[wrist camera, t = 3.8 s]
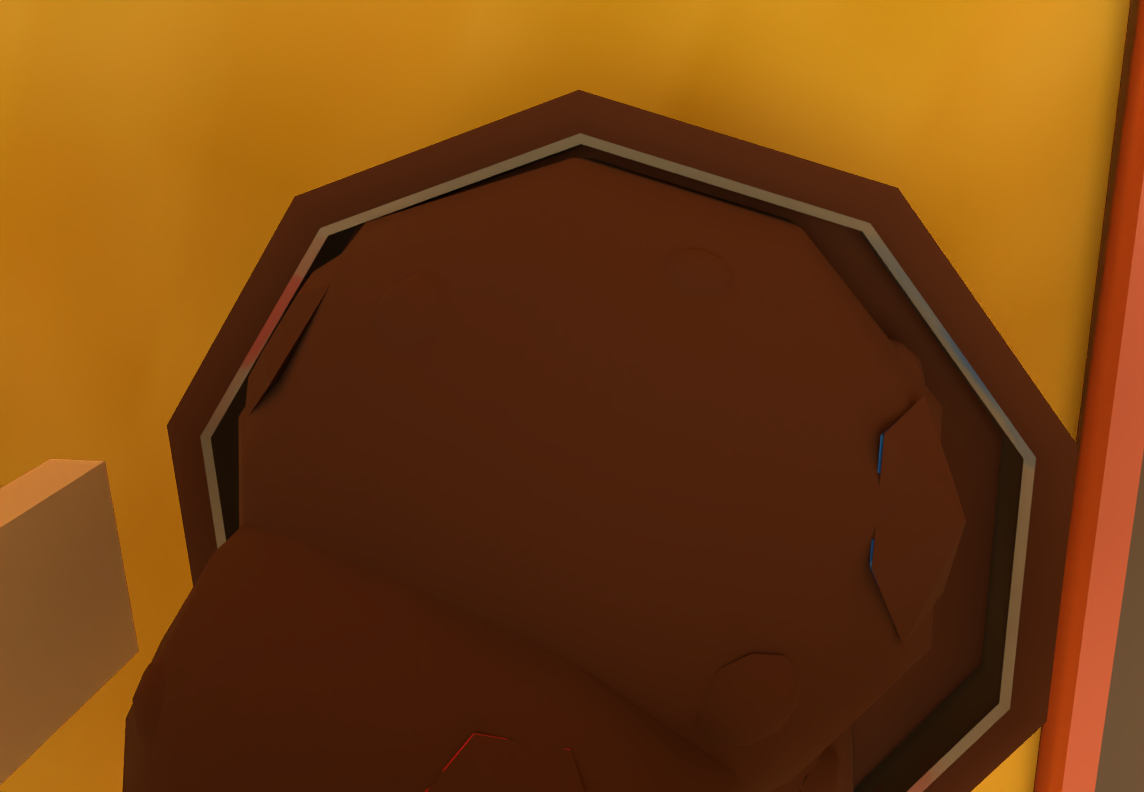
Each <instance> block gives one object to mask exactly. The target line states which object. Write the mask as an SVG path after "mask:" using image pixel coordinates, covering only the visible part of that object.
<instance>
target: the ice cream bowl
mask: <svg viewBox="0 0 1144 792" xmlns="http://www.w3.org/2000/svg"><path fill="white" fill-rule="evenodd" d="M167 429H168V435H169V441H170V447H171V453H172V459H173V465H174V471H175V477H176V483H177V489H178V496H179V502H180V508H181V514H182V520H183V526H184V532H185V538H186V544H187V550H188V556H189V563H190V569H191V575H192V581H193V589H192V590H191V592H190V594H189V595H188V597H187V599H186V600H185V602H184V604H183V606H182V607H181V609H180V611H179V612H178V614H177V616H176V617H175V619H174V621H173V622H172V624H171V626H170V627H169V629H168V631H167V632H166V634H165V636H164V638H163V639H162V641H161V643H160V645H159V647H158V649H157V652H156V654H155V656H154V658H153V660H152V662H151V663H150V664H149V665H148V667H147V668H146V670H145V672H144V673H143V676H142V678H141V680H140V683H139V685H138V687H137V690H136V692H135V695H134V697H133V704H132V706H131V709H130V711H129V713H128V715H127V717H126V728H125V750H124V772H123V792H971V791H972V790H973V789H974V788H975V787H976V786H977V785H978V784H980V783H981V782H982V781H983V780H984V779H985V778H986V777H987V776H988V775H989V774H990V773H991V772H992V771H994V770H995V769H996V768H997V767H998V766H999V765H1000V764H1001V763H1002V762H1003V761H1004V760H1005V759H1006V758H1008V757H1009V756H1010V755H1011V754H1012V753H1013V752H1014V751H1015V750H1016V749H1017V748H1018V747H1019V746H1021V745H1022V744H1023V743H1024V742H1025V741H1026V740H1027V739H1028V738H1029V737H1030V736H1031V735H1032V734H1033V733H1035V732H1036V731H1037V730H1038V729H1039V728H1040V727H1041V726H1042V725H1043V724H1044V723H1045V722H1046V721H1047V714H1048V705H1049V697H1050V688H1051V680H1052V671H1053V662H1054V654H1055V645H1056V637H1057V628H1058V620H1059V611H1060V602H1061V594H1062V585H1063V577H1064V568H1065V560H1066V551H1067V542H1068V534H1069V525H1070V517H1071V508H1072V500H1073V491H1074V482H1075V474H1076V465H1077V457H1078V448H1079V447H1078V446H1077V444H1076V443H1075V441H1074V440H1073V438H1072V437H1071V435H1070V434H1069V433H1068V431H1067V430H1066V428H1065V427H1064V425H1063V424H1062V423H1061V421H1060V420H1059V418H1058V417H1057V415H1056V414H1055V413H1054V411H1053V410H1052V408H1051V407H1050V405H1049V404H1048V403H1047V401H1046V400H1045V398H1044V397H1043V395H1042V394H1041V392H1040V391H1039V390H1038V388H1037V387H1036V385H1035V384H1034V382H1033V381H1032V380H1031V378H1030V377H1029V375H1028V374H1027V372H1026V371H1025V370H1024V368H1023V367H1022V365H1021V364H1020V362H1019V361H1018V360H1017V358H1016V357H1015V355H1014V354H1013V352H1012V351H1011V349H1010V348H1009V347H1008V345H1007V344H1006V342H1005V341H1004V339H1003V338H1002V337H1001V335H1000V334H999V332H998V331H997V329H996V328H995V327H994V325H993V324H992V322H991V321H990V319H989V318H988V317H987V315H986V314H985V312H984V311H983V309H982V308H981V306H980V305H979V304H978V302H977V301H976V299H975V298H974V296H973V295H972V294H971V292H970V291H969V289H968V288H967V286H966V285H965V284H964V282H963V281H962V279H961V278H960V276H959V275H958V273H957V272H956V271H955V269H954V268H953V266H952V265H951V263H950V262H949V261H948V259H947V258H946V256H945V255H944V253H943V252H942V251H941V249H940V248H939V246H938V245H937V243H936V242H935V241H934V239H933V238H932V236H931V235H930V233H929V232H928V230H927V229H926V228H925V226H924V225H923V223H922V222H921V220H920V219H919V218H918V216H917V215H916V213H915V212H914V210H913V209H912V208H911V206H910V205H909V203H908V202H907V200H906V199H905V198H904V196H903V195H902V193H901V192H900V190H899V189H898V188H896V187H893V186H889V185H886V184H883V183H880V182H876V181H873V180H870V179H867V178H863V177H860V176H857V175H854V174H850V173H847V172H844V171H841V170H837V169H834V168H831V167H828V166H824V165H821V164H818V163H815V162H811V161H808V160H805V159H802V158H798V157H795V156H792V155H789V154H785V153H782V152H779V151H776V150H772V149H769V148H766V147H763V146H759V145H756V144H753V143H750V142H746V141H743V140H740V139H737V138H733V137H730V136H727V135H724V134H720V133H717V132H714V131H711V130H707V129H704V128H701V127H698V126H694V125H691V124H688V123H684V122H681V121H678V120H675V119H671V118H668V117H665V116H662V115H658V114H655V113H652V112H649V111H645V110H642V109H639V108H636V107H632V106H629V105H626V104H623V103H619V102H616V101H613V100H610V99H606V98H603V97H600V96H597V95H593V94H590V93H587V92H584V91H580V90H577V91H575V92H572V93H569V94H567V95H564V96H561V97H559V98H556V99H553V100H551V101H548V102H545V103H543V104H540V105H537V106H535V107H532V108H529V109H527V110H524V111H521V112H519V113H516V114H513V115H511V116H508V117H505V118H503V119H500V120H497V121H495V122H492V123H489V124H487V125H484V126H482V127H479V128H476V129H474V130H471V131H468V132H466V133H463V134H460V135H458V136H455V137H452V138H450V139H447V140H444V141H442V142H439V143H436V144H434V145H431V146H428V147H426V148H423V149H420V150H418V151H415V152H412V153H410V154H407V155H404V156H402V157H399V158H396V159H394V160H391V161H388V162H386V163H383V164H380V165H378V166H375V167H373V168H370V169H367V170H365V171H362V172H359V173H357V174H354V175H351V176H349V177H346V178H343V179H341V180H338V181H335V182H333V183H330V184H327V185H325V186H322V187H319V188H317V189H314V190H311V191H309V192H306V193H303V194H301V195H298V196H295V197H294V199H293V201H292V203H291V204H290V206H289V208H288V210H287V212H286V213H285V215H284V217H283V219H282V221H281V222H280V224H279V226H278V228H277V230H276V231H275V233H274V235H273V237H272V238H271V240H270V242H269V244H268V246H267V247H266V249H265V251H264V253H263V255H262V256H261V258H260V260H259V262H258V264H257V265H256V267H255V269H254V271H253V272H252V274H251V276H250V278H249V280H248V281H247V283H246V285H245V287H244V289H243V290H242V292H241V294H240V296H239V298H238V299H237V301H236V303H235V305H234V306H233V308H232V310H231V312H230V314H229V315H228V317H227V319H226V321H225V323H224V324H223V326H222V328H221V330H220V332H219V333H218V335H217V337H216V339H215V340H214V342H213V344H212V346H211V348H210V349H209V351H208V353H207V355H206V357H205V358H204V360H203V362H202V364H201V366H200V367H199V369H198V371H197V373H196V374H195V376H194V378H193V380H192V382H191V383H190V385H189V387H188V389H187V391H186V392H185V394H184V396H183V398H182V400H181V401H180V403H179V405H178V407H177V408H176V410H175V412H174V414H173V416H172V417H171V419H170V421H169V423H168V425H167Z"/></svg>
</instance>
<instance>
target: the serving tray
mask: <svg viewBox="0 0 1144 792" xmlns="http://www.w3.org/2000/svg"><path fill="white" fill-rule="evenodd" d="M1076 444H1077V446H1078V447H1079V448H1078V457H1077V465H1076V474H1075V482H1074V491H1073V500H1072V508H1071V517H1070V525H1069V534H1068V542H1067V551H1066V560H1065V568H1064V577H1063V585H1062V594H1061V602H1060V611H1059V620H1058V628H1057V637H1056V645H1055V654H1054V662H1053V671H1052V680H1051V688H1050V697H1049V705H1048V714H1047V721H1046V722H1045V723H1044V724H1043V725H1042V728H1041V736H1040V745H1039V753H1038V761H1037V769H1036V777H1035V785H1034V792H1144V0H1131V3H1130V11H1129V19H1128V27H1127V36H1126V44H1125V52H1124V60H1123V68H1122V76H1121V84H1120V93H1119V101H1118V109H1117V117H1116V125H1115V133H1114V141H1113V150H1112V158H1111V166H1110V174H1109V182H1108V190H1107V199H1106V207H1105V215H1104V223H1103V231H1102V239H1101V247H1100V256H1099V264H1098V272H1097V280H1096V288H1095V296H1094V304H1093V313H1092V321H1091V329H1090V337H1089V345H1088V353H1087V362H1086V370H1085V378H1084V386H1083V394H1082V402H1081V410H1080V419H1079V427H1078V435H1077V443H1076Z"/></svg>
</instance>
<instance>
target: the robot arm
mask: <svg viewBox="0 0 1144 792" xmlns="http://www.w3.org/2000/svg"><path fill="white" fill-rule="evenodd" d="M137 652H138V645H137V639H136V634H135V628H134V622H133V617H132V611H131V606H130V600H129V594H128V589H127V583H126V577H125V572H124V566H123V560H122V555H121V549H120V544H119V538H118V532H117V527H116V521H115V515H114V510H113V504H112V498H111V493H110V487H109V482H108V476H107V470H106V465H105V461H95V460H71V459H49V460H48V461H46V462H44V463H42V464H41V465H39V466H37V467H36V468H34V469H32V470H31V471H29V472H27V473H25V474H24V475H22V476H20V477H19V478H17V479H15V480H13V481H12V482H10V483H8V484H7V485H5V486H3V487H2V488H0V785H1V784H2V783H3V782H4V781H5V780H6V779H7V778H8V777H9V776H10V775H11V774H12V773H13V772H14V771H15V770H16V769H17V768H18V767H19V766H20V765H21V764H23V763H24V762H25V761H26V760H27V759H28V758H29V757H30V756H31V755H32V754H33V753H34V752H35V751H36V750H37V749H38V748H39V747H40V746H41V745H42V744H43V743H44V742H45V741H46V740H47V739H48V738H49V737H50V736H51V735H53V734H54V733H55V732H56V731H57V730H58V729H59V728H60V727H61V726H62V725H63V724H64V723H65V722H66V721H67V720H68V719H69V718H70V717H71V716H72V715H73V714H74V713H75V712H76V711H77V710H78V709H79V708H80V707H81V706H83V705H84V704H85V703H86V702H87V701H88V700H89V699H90V698H91V697H92V696H93V695H94V694H95V693H96V692H97V691H98V690H99V689H100V688H101V687H102V686H103V685H104V684H105V683H106V682H107V681H108V680H109V679H110V678H111V677H113V676H114V675H115V674H116V673H117V672H118V671H119V670H120V669H121V668H122V667H123V666H124V665H125V664H126V663H127V662H128V661H129V660H130V659H131V658H132V657H133V656H134V655H135V654H136V653H137Z"/></svg>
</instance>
